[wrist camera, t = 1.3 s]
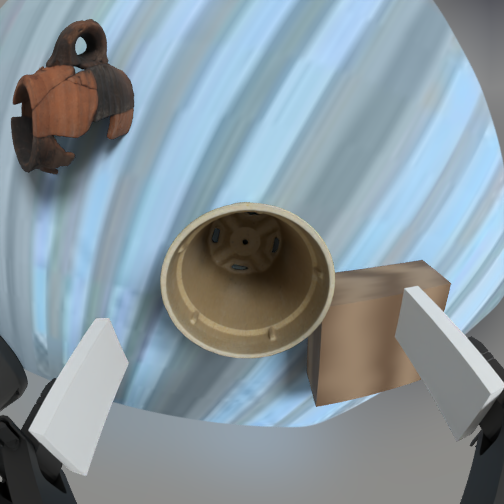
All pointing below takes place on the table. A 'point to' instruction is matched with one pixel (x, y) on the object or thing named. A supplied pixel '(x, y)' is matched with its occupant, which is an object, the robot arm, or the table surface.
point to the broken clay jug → (69, 99)
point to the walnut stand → (367, 332)
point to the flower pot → (247, 281)
